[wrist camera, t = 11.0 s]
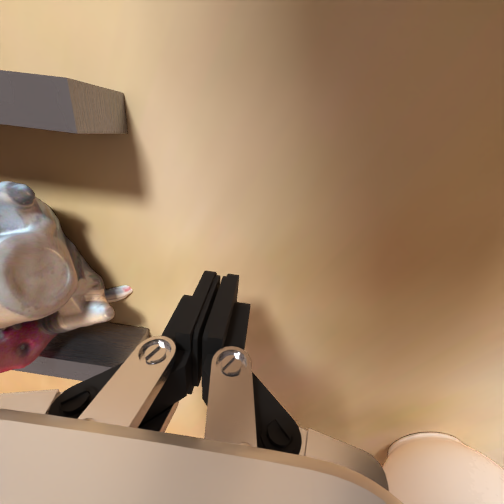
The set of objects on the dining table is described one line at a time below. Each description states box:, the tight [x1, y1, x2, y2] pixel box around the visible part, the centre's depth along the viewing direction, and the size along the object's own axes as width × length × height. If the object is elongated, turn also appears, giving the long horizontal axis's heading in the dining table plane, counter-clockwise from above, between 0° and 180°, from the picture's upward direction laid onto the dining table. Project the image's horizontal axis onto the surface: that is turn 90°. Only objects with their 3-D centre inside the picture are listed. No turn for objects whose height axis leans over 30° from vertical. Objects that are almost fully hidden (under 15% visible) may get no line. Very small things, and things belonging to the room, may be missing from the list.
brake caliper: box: [0, 181, 133, 373], centre depth 15 cm, size 11×11×12 cm
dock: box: [0, 70, 149, 381], centre depth 16 cm, size 19×16×4 cm
